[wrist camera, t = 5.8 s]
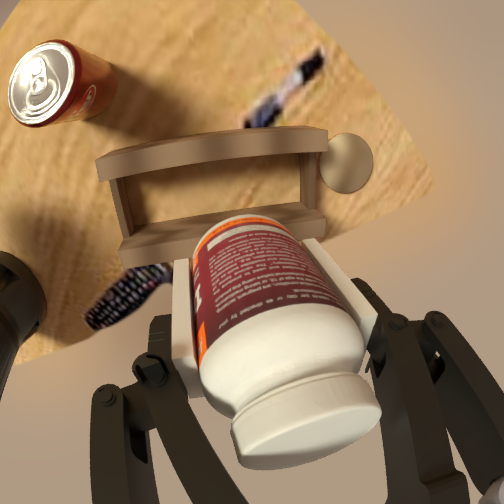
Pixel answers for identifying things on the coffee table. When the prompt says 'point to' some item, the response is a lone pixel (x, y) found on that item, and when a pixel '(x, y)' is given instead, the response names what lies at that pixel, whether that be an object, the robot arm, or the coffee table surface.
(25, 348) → the coffee table surface
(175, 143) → the pocket block
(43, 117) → the soda can
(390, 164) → the coffee table surface
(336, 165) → the coaster
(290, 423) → the pill bottle
